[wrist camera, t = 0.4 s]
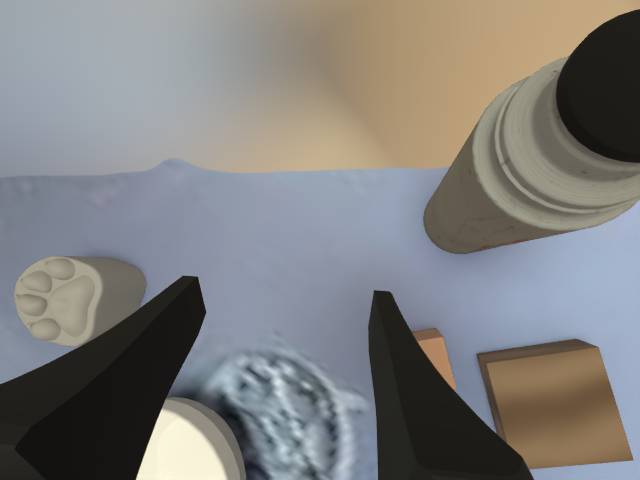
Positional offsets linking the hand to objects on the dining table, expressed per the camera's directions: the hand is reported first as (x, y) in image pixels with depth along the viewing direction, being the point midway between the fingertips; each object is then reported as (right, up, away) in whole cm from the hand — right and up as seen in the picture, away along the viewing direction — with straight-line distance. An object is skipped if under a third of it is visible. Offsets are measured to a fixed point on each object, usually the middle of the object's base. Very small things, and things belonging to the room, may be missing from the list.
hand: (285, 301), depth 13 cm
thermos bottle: (+18, +5, +24) cm, 30 cm away
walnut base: (+25, -14, +21) cm, 35 cm away
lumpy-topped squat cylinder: (-30, -5, +33) cm, 45 cm away
